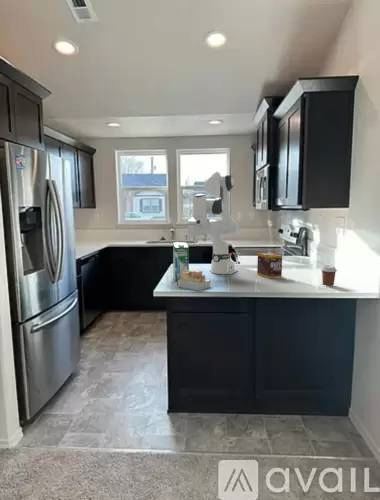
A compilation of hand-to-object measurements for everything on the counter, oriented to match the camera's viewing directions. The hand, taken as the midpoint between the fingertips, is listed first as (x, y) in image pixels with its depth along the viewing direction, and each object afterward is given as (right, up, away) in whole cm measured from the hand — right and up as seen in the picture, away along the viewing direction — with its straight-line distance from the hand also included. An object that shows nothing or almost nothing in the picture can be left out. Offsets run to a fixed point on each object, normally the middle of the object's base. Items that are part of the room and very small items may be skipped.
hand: (200, 242), depth 223 cm
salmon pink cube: (-2, -22, -8) cm, 23 cm away
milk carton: (-13, -25, +14) cm, 32 cm away
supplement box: (+50, -24, +25) cm, 61 cm away
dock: (-4, -28, -6) cm, 29 cm away
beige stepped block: (-5, -24, -5) cm, 25 cm away
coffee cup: (+80, -27, -4) cm, 84 cm away
